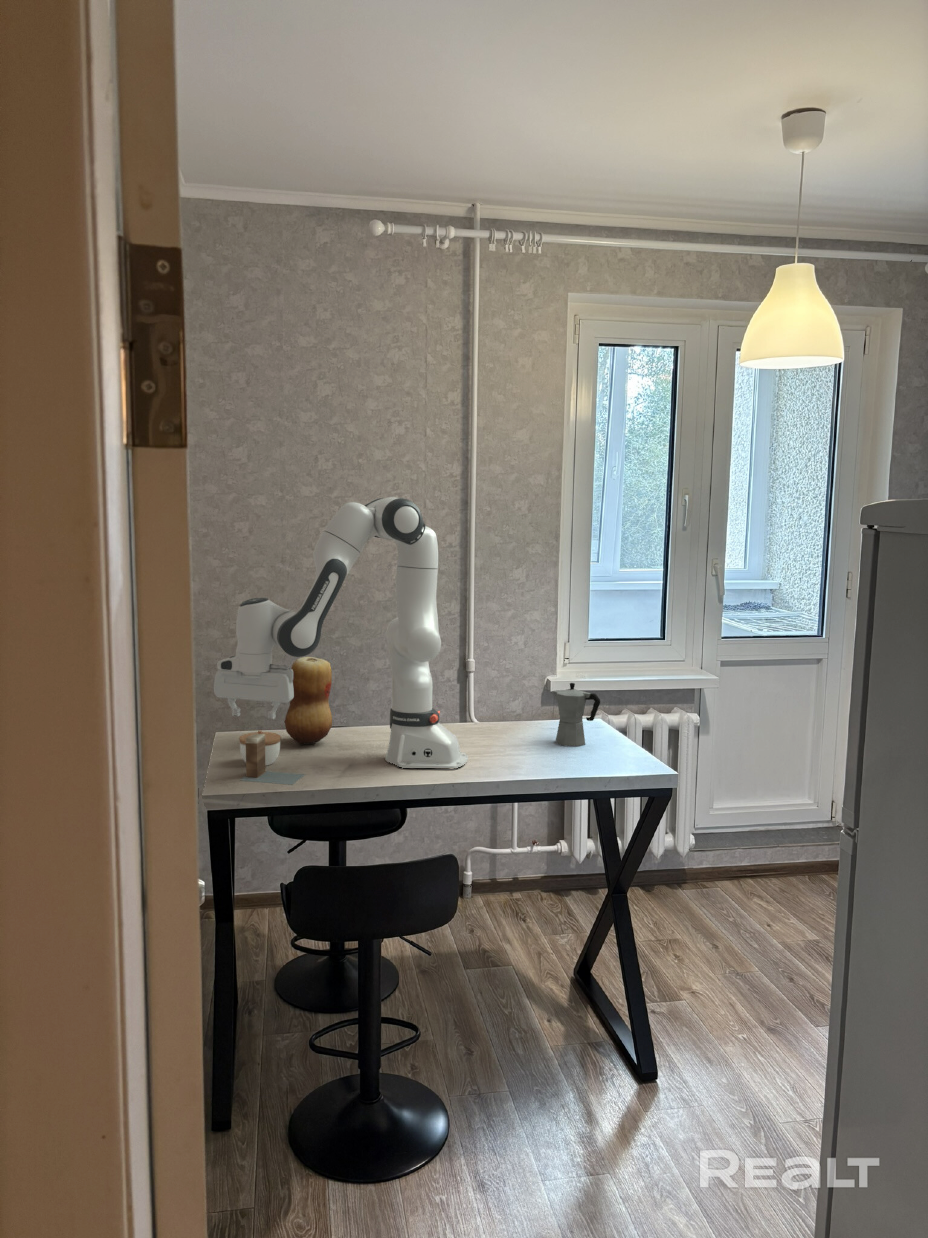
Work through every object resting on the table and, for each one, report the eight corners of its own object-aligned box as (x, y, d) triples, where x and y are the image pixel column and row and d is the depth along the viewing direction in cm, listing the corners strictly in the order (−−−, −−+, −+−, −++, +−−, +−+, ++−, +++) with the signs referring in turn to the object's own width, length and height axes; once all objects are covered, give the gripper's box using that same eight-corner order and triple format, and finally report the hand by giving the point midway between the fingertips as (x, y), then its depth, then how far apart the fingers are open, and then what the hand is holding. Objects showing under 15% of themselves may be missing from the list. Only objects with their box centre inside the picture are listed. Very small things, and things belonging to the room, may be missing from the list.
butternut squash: (325, 750, 263) (325, 663, 259) (279, 748, 264) (278, 661, 261) (337, 738, 276) (337, 654, 273) (293, 736, 278) (293, 653, 275)
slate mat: (305, 777, 237) (305, 774, 237) (292, 788, 229) (292, 784, 229) (254, 773, 240) (254, 770, 240) (239, 783, 231) (239, 780, 231)
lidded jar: (281, 759, 253) (281, 725, 252) (280, 770, 243) (280, 735, 242) (240, 760, 252) (240, 726, 250) (238, 772, 241) (237, 736, 240)
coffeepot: (543, 743, 275) (545, 683, 272) (556, 736, 283) (557, 677, 281) (592, 750, 267) (594, 689, 265) (604, 743, 276) (606, 683, 273)
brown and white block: (265, 772, 238) (265, 734, 237) (257, 778, 234) (256, 739, 232) (254, 771, 239) (253, 733, 238) (246, 777, 234) (245, 738, 233)
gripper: (298, 663, 234) (297, 717, 235) (222, 658, 237) (222, 711, 239) (288, 668, 227) (288, 723, 229) (210, 662, 231) (210, 716, 233)
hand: (253, 717), depth 234 cm, fingers open, 8 cm apart
